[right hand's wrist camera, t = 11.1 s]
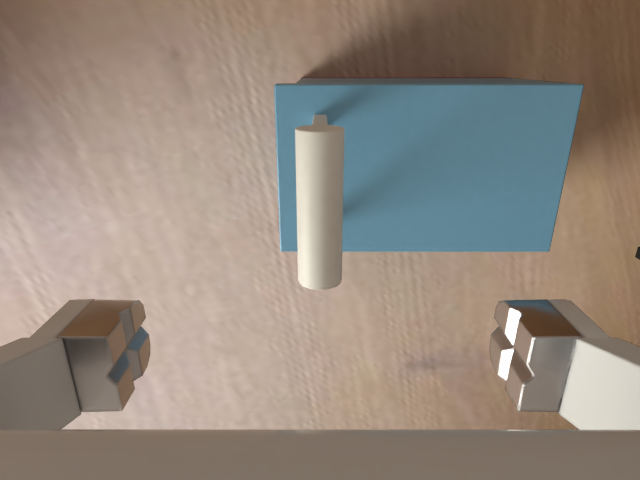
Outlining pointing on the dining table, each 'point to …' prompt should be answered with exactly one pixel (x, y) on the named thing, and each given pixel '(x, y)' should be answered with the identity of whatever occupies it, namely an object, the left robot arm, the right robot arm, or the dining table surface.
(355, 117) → the lid
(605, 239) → the dining table surface
